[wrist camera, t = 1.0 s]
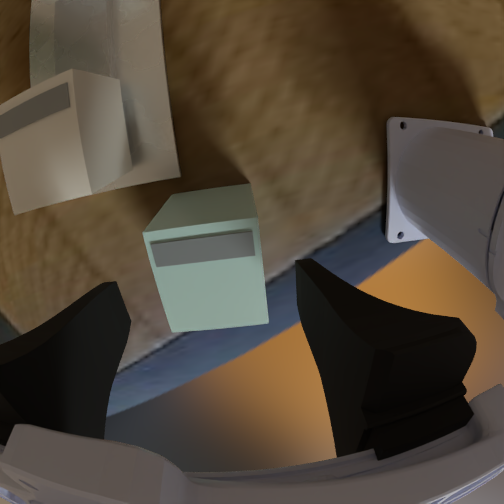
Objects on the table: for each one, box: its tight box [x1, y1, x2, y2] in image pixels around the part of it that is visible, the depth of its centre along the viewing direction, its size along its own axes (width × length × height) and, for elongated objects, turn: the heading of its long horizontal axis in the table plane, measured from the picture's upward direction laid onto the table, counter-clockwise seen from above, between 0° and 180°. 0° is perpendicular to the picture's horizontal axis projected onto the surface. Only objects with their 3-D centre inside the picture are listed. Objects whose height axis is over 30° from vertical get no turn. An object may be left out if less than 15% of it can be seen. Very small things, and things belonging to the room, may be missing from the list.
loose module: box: [143, 183, 269, 332], centre depth 15 cm, size 4×5×6 cm
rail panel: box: [29, 0, 182, 205], centre depth 11 cm, size 9×19×1 cm, turn 6°
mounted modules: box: [0, 0, 133, 215], centre depth 8 cm, size 4×17×5 cm, turn 6°
